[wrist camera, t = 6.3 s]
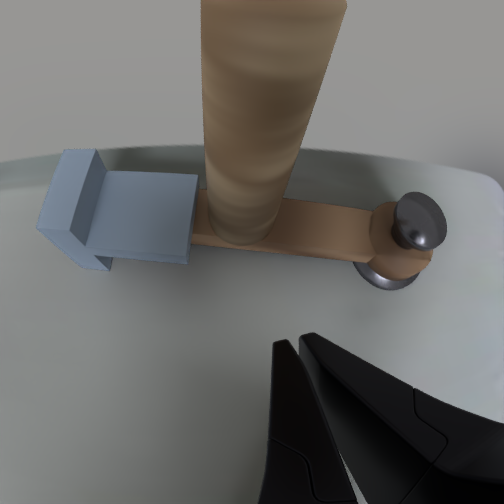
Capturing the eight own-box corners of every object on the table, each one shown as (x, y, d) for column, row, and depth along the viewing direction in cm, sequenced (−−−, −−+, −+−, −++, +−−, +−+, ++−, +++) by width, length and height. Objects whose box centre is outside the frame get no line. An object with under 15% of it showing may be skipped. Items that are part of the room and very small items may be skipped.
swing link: (417, 217, 21) (550, 81, 7) (424, 283, 19) (599, 171, 6) (155, 183, 20) (103, -32, 6) (138, 254, 18) (22, 42, 5)
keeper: (201, 210, 20) (195, 151, 14) (192, 279, 18) (180, 239, 13) (97, 203, 20) (63, 149, 14) (81, 267, 18) (35, 227, 12)
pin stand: (427, 237, 21) (465, 207, 17) (407, 304, 19) (450, 285, 15) (364, 198, 22) (393, 159, 17) (336, 264, 20) (367, 233, 15)
